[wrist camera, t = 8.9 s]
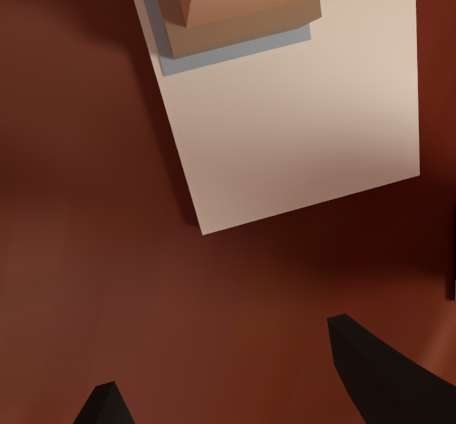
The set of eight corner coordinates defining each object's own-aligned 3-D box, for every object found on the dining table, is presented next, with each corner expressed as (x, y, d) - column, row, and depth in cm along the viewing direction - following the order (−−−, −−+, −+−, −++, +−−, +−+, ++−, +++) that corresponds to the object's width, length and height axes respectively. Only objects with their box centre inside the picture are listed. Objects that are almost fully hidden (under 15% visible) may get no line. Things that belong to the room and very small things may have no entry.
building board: (396, -166, 15) (469, -250, 11) (408, 171, 21) (459, 189, 17) (105, -101, 14) (80, -167, 11) (201, 228, 20) (206, 260, 16)
